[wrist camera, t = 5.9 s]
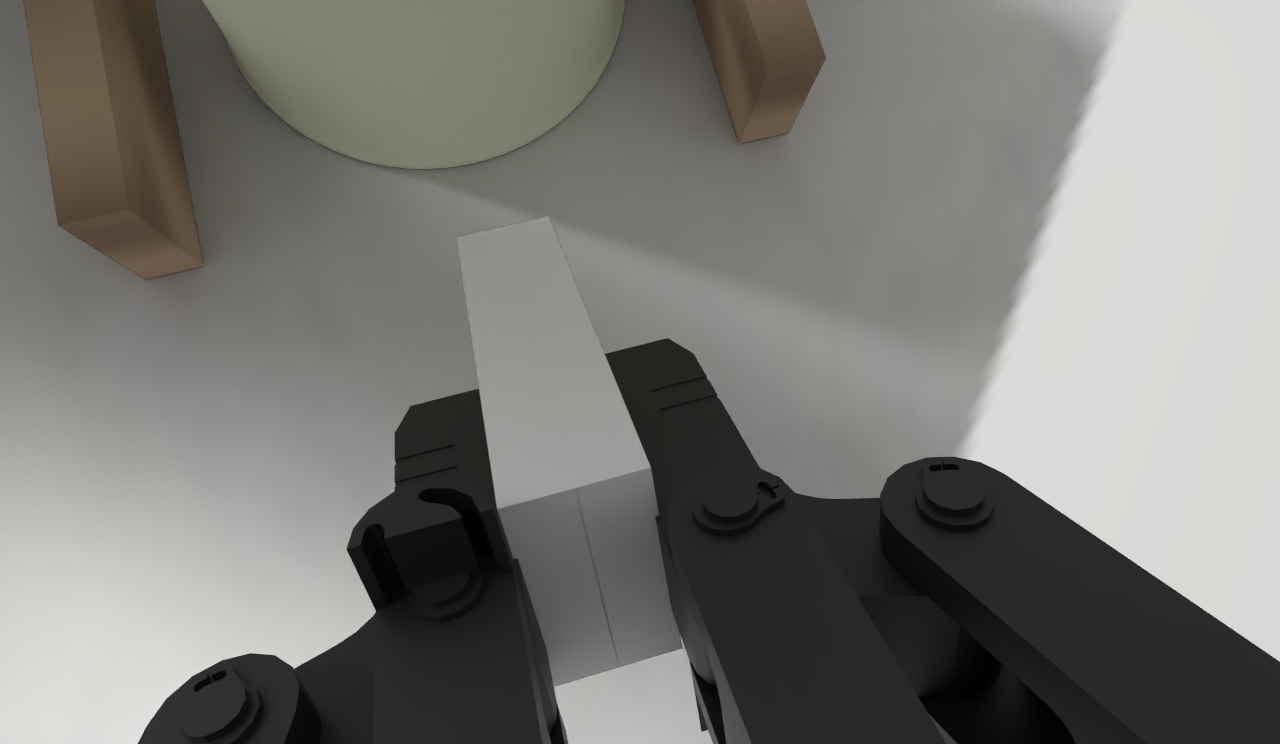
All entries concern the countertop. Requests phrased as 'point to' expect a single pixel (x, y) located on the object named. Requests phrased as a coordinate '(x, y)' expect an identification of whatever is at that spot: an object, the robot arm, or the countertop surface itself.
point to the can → (421, 71)
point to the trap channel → (149, 140)
